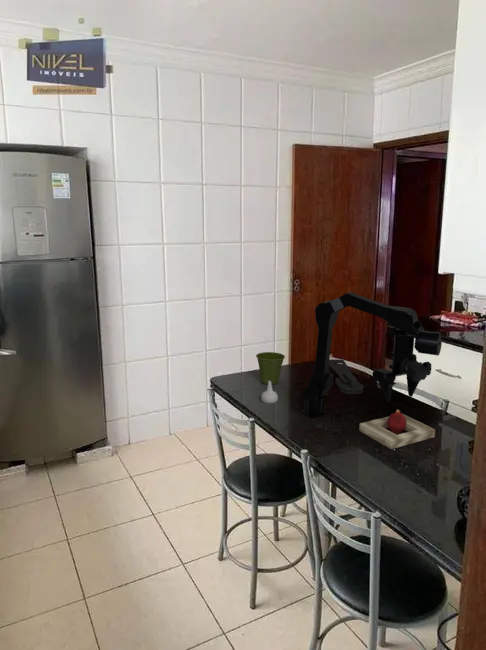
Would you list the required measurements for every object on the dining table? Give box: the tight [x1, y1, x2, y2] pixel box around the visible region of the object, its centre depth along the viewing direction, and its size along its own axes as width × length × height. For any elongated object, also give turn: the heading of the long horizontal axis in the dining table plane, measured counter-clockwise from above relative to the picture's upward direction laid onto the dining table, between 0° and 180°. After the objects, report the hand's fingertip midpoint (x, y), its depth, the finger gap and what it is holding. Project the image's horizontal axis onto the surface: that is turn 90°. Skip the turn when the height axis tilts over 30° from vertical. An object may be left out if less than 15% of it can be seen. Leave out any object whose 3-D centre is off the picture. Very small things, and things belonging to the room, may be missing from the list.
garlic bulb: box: [260, 381, 279, 405], centre depth 178 cm, size 6×6×8 cm
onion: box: [387, 409, 407, 435], centre depth 151 cm, size 6×6×8 cm
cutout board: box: [358, 412, 436, 450], centre depth 151 cm, size 18×14×2 cm
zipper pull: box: [329, 358, 364, 395], centre depth 197 cm, size 9×7×25 cm
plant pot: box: [255, 351, 286, 385], centre depth 198 cm, size 12×12×11 cm
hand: (399, 398), depth 149 cm, fingers open, 9 cm apart
